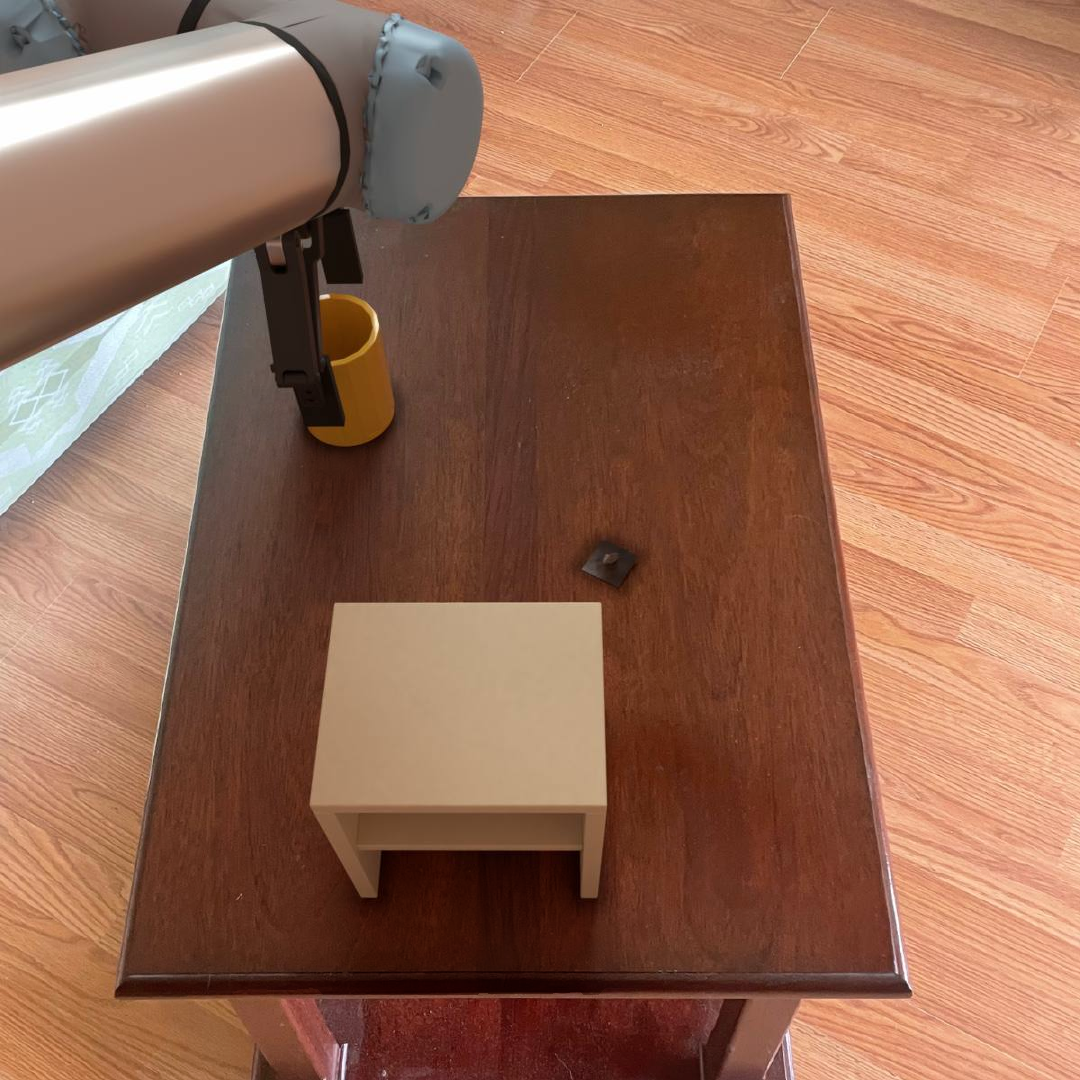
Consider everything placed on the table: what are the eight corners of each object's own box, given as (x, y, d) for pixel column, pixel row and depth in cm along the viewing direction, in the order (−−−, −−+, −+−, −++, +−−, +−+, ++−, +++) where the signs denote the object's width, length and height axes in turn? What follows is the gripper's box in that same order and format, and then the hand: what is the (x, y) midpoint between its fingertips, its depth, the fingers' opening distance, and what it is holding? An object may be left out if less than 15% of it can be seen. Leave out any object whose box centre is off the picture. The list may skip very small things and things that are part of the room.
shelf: (360, 897, 65) (308, 806, 52) (376, 724, 71) (333, 602, 58) (597, 898, 65) (607, 806, 52) (593, 724, 71) (601, 601, 58)
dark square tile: (618, 588, 77) (618, 580, 75) (581, 569, 77) (580, 561, 76) (638, 556, 78) (638, 548, 77) (602, 538, 79) (601, 530, 77)
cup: (333, 461, 83) (310, 382, 75) (287, 403, 86) (261, 322, 78) (412, 417, 85) (397, 336, 77) (364, 363, 88) (346, 279, 81)
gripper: (309, 245, 55) (372, 489, 73) (357, -38, 68) (400, 227, 86) (160, 247, 55) (259, 490, 73) (236, -36, 69) (304, 228, 87)
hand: (335, 348), depth 80 cm, fingers open, 13 cm apart
